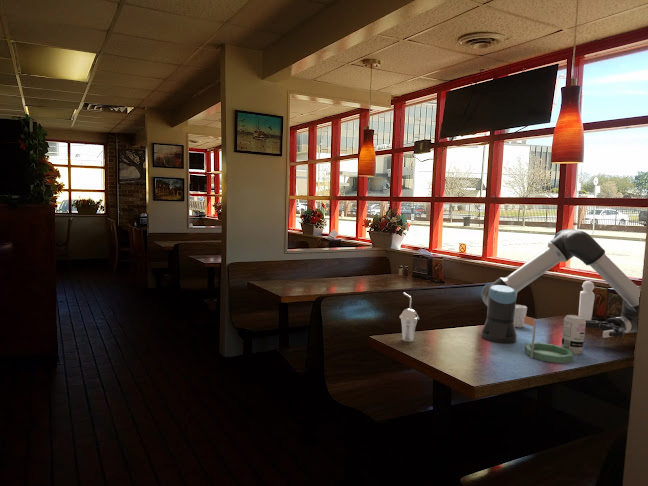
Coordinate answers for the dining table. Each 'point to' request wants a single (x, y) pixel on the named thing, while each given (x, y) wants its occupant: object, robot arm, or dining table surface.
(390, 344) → the dining table surface
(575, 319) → the supplement can
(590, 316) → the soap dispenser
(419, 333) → the dining table surface
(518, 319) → the white cup
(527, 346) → the cup
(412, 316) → the cup with straw
